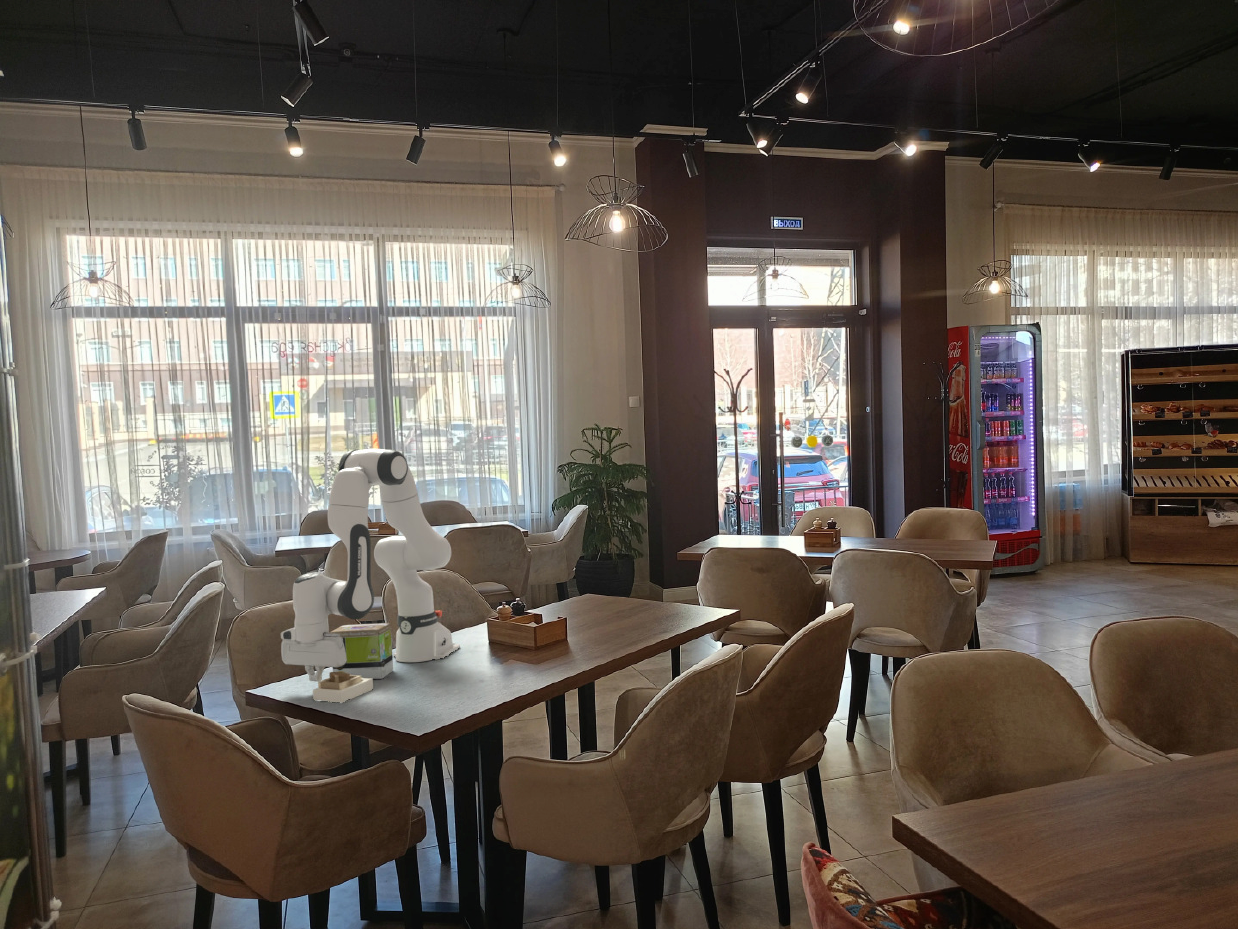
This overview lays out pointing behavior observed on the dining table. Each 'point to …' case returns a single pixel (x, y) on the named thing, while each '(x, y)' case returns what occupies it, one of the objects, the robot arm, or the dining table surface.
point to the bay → (343, 691)
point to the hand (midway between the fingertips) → (315, 680)
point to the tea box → (366, 650)
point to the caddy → (339, 681)
